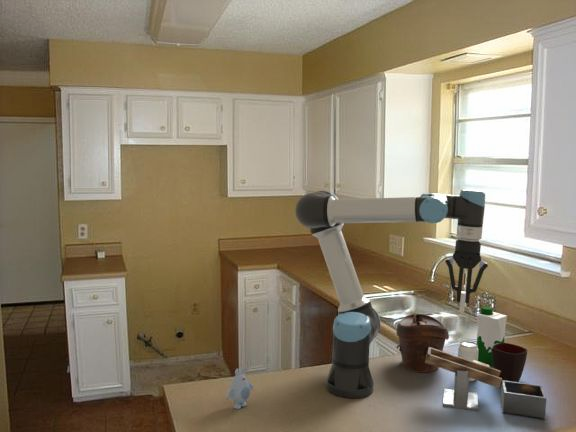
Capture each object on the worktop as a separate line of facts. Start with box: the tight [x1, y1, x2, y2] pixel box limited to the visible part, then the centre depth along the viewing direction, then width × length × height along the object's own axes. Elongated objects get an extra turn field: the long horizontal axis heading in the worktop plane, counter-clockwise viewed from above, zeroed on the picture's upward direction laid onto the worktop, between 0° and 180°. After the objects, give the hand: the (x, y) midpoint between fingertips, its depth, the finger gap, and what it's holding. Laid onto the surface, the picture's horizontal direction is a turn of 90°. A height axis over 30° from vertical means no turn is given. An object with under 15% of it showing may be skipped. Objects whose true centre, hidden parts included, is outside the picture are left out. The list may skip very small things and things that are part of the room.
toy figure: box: [225, 366, 254, 410], centre depth 159 cm, size 11×6×12 cm, turn 136°
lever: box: [425, 347, 502, 389], centre depth 169 cm, size 22×14×3 cm, turn 73°
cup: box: [492, 342, 528, 386], centre depth 182 cm, size 10×14×12 cm
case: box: [396, 313, 450, 373], centre depth 194 cm, size 18×20×18 cm
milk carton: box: [476, 305, 508, 368], centre depth 198 cm, size 9×9×20 cm
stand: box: [442, 369, 479, 412], centre depth 167 cm, size 10×11×11 cm
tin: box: [500, 380, 547, 421], centre depth 162 cm, size 11×9×6 cm
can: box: [457, 340, 478, 383], centre depth 184 cm, size 6×6×12 cm
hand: (461, 312), depth 173 cm, fingers closed
